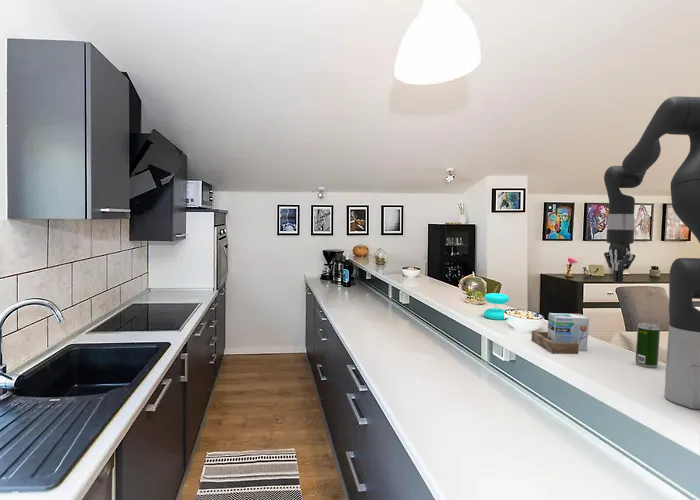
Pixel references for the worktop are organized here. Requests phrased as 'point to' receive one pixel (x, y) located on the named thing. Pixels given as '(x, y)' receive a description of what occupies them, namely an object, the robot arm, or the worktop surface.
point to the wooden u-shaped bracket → (554, 344)
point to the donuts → (493, 312)
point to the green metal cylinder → (647, 345)
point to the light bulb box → (568, 329)
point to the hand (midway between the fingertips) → (617, 282)
